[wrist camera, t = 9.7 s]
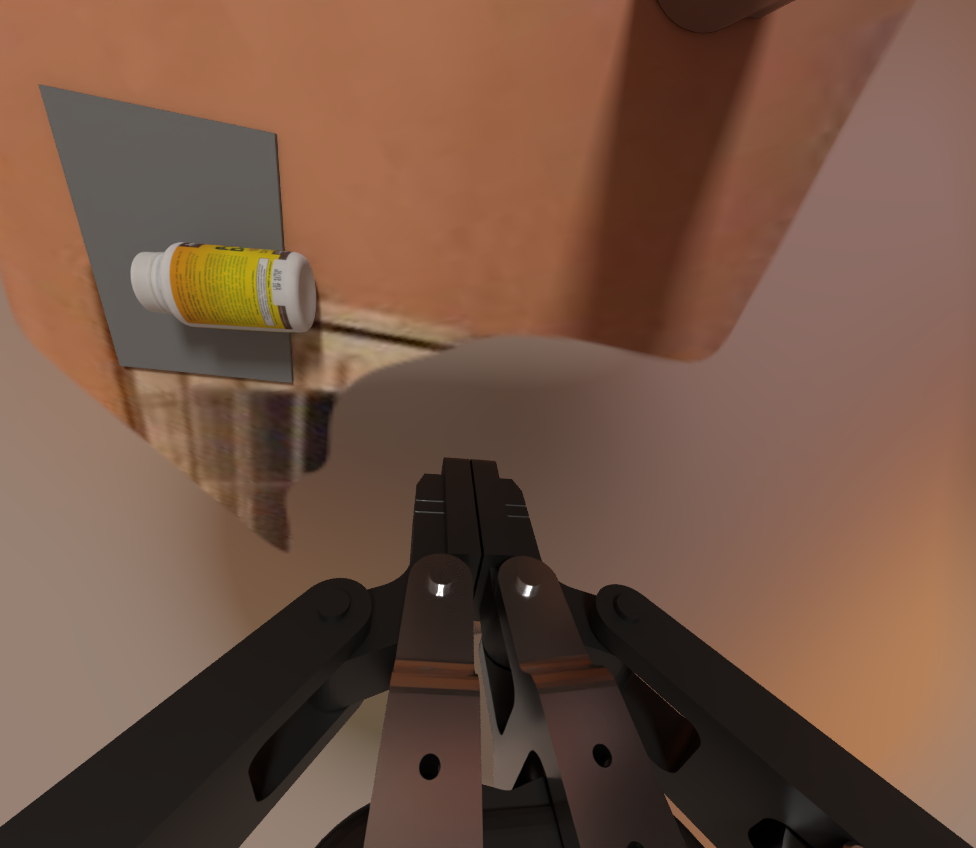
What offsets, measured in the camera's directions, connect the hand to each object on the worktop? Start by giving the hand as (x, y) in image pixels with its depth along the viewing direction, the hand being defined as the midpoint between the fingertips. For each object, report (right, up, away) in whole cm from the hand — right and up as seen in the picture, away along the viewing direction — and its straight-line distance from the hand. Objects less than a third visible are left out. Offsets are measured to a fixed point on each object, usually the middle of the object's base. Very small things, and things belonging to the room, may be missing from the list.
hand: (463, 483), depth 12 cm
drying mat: (-21, +14, +18) cm, 31 cm away
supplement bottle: (-12, +11, +17) cm, 24 cm away
